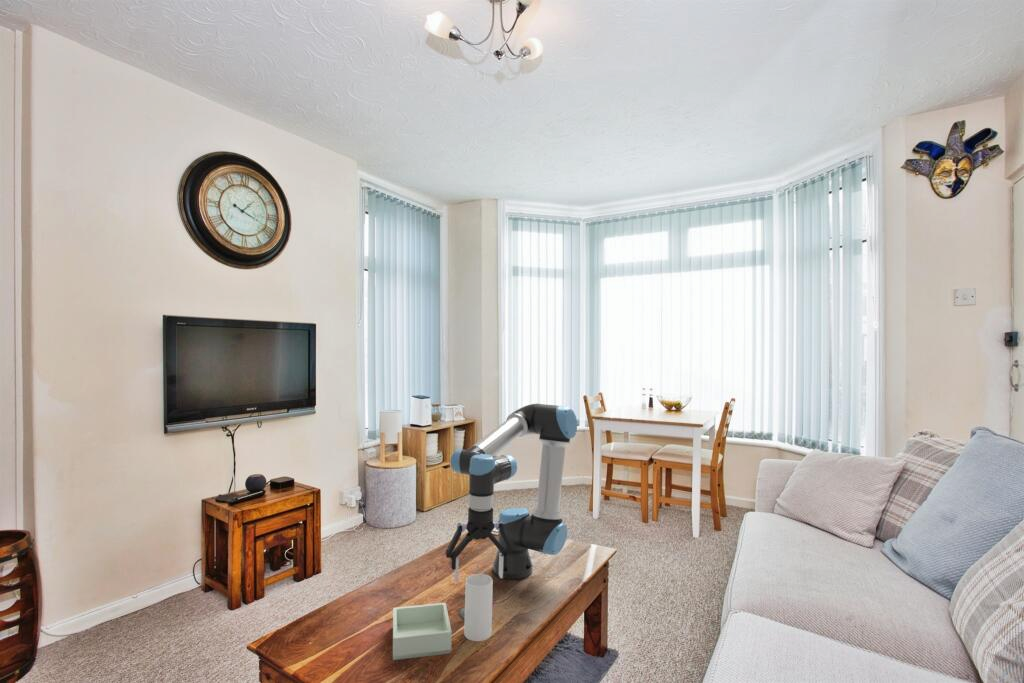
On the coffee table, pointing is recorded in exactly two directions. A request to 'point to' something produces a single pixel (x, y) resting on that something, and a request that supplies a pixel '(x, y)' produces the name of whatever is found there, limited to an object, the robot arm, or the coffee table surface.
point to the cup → (478, 607)
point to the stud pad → (462, 612)
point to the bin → (421, 631)
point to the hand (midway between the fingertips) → (478, 578)
